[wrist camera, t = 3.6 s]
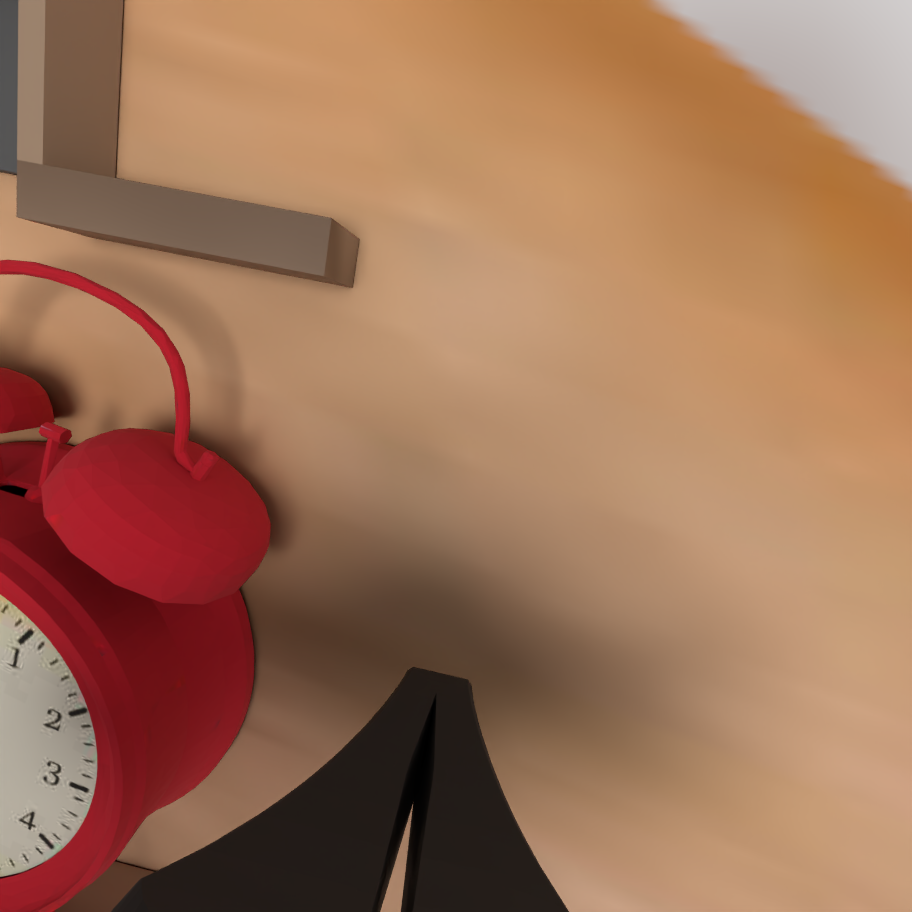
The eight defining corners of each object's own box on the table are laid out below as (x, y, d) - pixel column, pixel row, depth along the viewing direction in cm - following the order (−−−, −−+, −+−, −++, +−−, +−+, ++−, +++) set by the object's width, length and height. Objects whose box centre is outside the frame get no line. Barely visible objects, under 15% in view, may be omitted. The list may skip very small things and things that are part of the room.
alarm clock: (-322, 864, 12) (-784, 132, 5) (-39, 658, 18) (-99, 180, 11) (98, 1040, 12) (141, 501, 5) (247, 775, 17) (356, 359, 11)
